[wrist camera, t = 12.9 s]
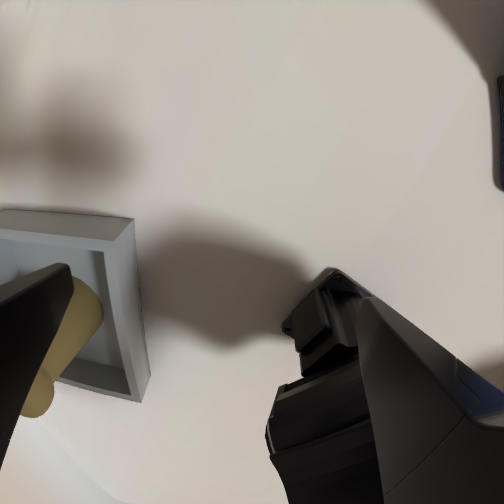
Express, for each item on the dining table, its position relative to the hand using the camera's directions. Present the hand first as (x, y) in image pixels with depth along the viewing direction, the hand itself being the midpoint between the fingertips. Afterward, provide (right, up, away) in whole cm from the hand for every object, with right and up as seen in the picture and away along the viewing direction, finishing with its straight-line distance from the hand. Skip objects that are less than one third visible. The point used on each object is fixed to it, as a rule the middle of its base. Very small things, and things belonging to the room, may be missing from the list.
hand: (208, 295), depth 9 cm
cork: (-14, -3, +15) cm, 21 cm away
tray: (-14, -3, +15) cm, 21 cm away
